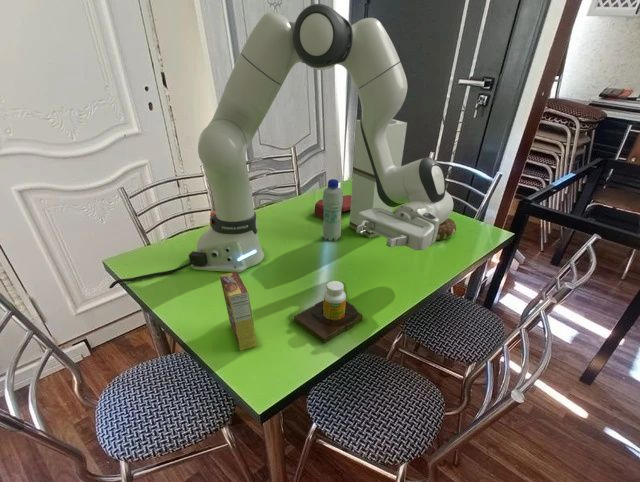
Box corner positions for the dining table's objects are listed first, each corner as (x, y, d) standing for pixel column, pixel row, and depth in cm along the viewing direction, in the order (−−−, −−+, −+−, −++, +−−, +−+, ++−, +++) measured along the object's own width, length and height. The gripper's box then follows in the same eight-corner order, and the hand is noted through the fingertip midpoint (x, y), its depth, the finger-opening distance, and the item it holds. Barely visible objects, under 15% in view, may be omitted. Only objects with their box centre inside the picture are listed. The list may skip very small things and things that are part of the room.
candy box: (229, 328, 88) (219, 274, 78) (247, 324, 89) (238, 270, 80) (238, 352, 81) (228, 295, 72) (257, 346, 83) (249, 291, 73)
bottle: (339, 243, 124) (342, 183, 111) (320, 241, 125) (320, 182, 112) (342, 235, 129) (345, 177, 116) (324, 233, 130) (324, 175, 117)
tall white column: (392, 230, 132) (407, 122, 110) (369, 238, 127) (380, 126, 105) (371, 220, 139) (381, 116, 117) (349, 226, 134) (356, 120, 113)
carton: (348, 206, 160) (310, 213, 143) (350, 194, 157) (311, 201, 140) (371, 213, 154) (333, 222, 137) (373, 201, 151) (335, 209, 134)
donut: (460, 232, 131) (464, 219, 128) (443, 245, 123) (447, 231, 120) (424, 221, 138) (427, 209, 135) (406, 233, 130) (408, 220, 127)
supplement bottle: (328, 327, 88) (329, 293, 82) (319, 314, 92) (320, 282, 86) (348, 321, 90) (350, 288, 84) (338, 309, 94) (340, 277, 88)
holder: (324, 344, 83) (324, 338, 82) (293, 321, 90) (292, 315, 89) (366, 319, 91) (366, 313, 90) (334, 299, 98) (334, 294, 96)
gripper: (378, 198, 98) (342, 211, 91) (445, 221, 86) (409, 238, 79) (376, 220, 102) (341, 235, 94) (439, 245, 90) (405, 264, 83)
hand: (373, 237), depth 86 cm, fingers open, 8 cm apart
